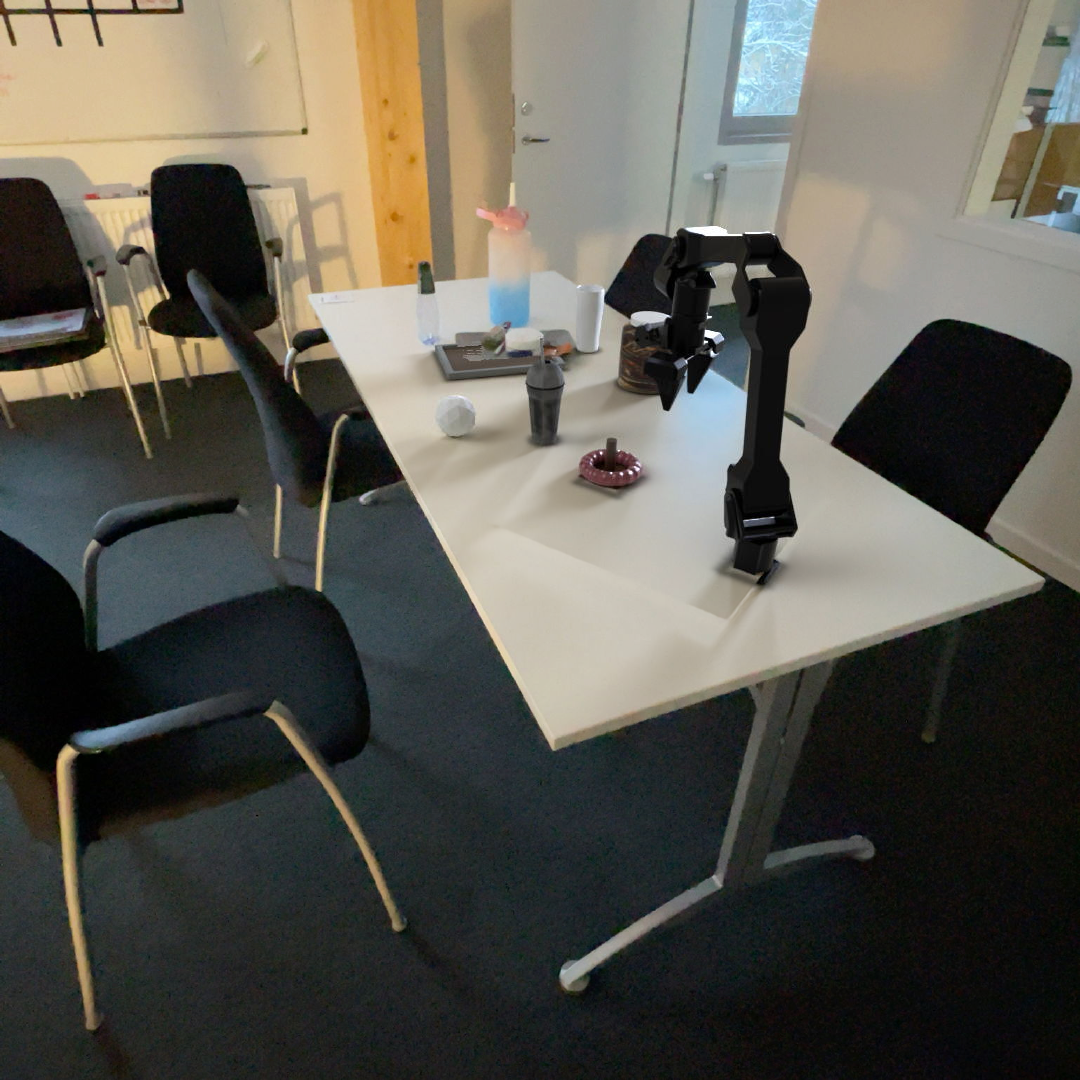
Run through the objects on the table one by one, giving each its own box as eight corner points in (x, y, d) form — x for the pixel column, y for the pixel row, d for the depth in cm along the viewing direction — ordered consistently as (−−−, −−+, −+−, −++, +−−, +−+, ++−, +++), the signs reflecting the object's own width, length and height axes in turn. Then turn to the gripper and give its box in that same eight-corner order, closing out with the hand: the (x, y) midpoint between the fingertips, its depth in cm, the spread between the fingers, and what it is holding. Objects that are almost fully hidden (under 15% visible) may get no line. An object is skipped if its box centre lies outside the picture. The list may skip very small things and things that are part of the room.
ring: (621, 495, 122) (622, 482, 121) (566, 476, 128) (567, 463, 126) (652, 470, 130) (653, 458, 128) (599, 453, 135) (600, 441, 134)
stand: (617, 496, 125) (620, 455, 120) (577, 482, 128) (579, 441, 124) (640, 477, 130) (644, 437, 126) (601, 464, 134) (603, 425, 130)
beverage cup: (570, 439, 142) (575, 336, 131) (545, 452, 138) (547, 346, 126) (543, 428, 146) (544, 327, 135) (517, 439, 142) (516, 336, 130)
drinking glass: (583, 343, 187) (586, 282, 179) (606, 349, 184) (610, 287, 176) (568, 350, 183) (570, 288, 174) (591, 356, 179) (594, 293, 171)
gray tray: (434, 344, 180) (553, 335, 187) (434, 351, 181) (553, 341, 188) (447, 373, 165) (576, 362, 172) (448, 380, 166) (576, 368, 172)
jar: (666, 374, 170) (673, 308, 162) (675, 394, 161) (683, 326, 152) (614, 374, 170) (619, 308, 162) (621, 394, 160) (626, 325, 152)
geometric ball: (464, 450, 144) (468, 430, 136) (426, 432, 143) (428, 412, 136) (480, 419, 147) (485, 398, 139) (443, 402, 146) (446, 380, 139)
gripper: (671, 289, 129) (661, 374, 138) (617, 315, 117) (610, 408, 125) (731, 300, 124) (717, 389, 133) (681, 329, 111) (669, 425, 120)
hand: (678, 401), depth 128 cm, fingers open, 9 cm apart
